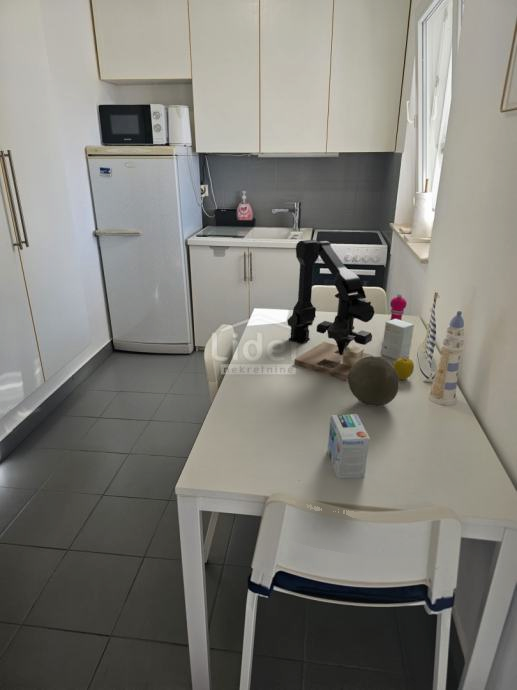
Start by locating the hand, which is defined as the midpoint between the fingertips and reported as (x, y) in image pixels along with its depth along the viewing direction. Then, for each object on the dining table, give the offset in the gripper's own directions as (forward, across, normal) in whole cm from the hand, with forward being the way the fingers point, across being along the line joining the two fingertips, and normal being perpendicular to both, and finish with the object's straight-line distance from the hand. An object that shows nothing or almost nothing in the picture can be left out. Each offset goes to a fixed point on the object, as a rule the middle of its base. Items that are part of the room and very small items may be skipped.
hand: (341, 354), depth 159 cm
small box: (+4, +12, +20) cm, 24 cm away
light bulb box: (+4, +28, -50) cm, 57 cm away
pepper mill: (+4, +6, +33) cm, 34 cm away
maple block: (+2, +4, 0) cm, 5 cm away
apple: (+4, +21, +3) cm, 22 cm away
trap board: (+4, -3, 0) cm, 4 cm away
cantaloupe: (+4, +20, -20) cm, 29 cm away
